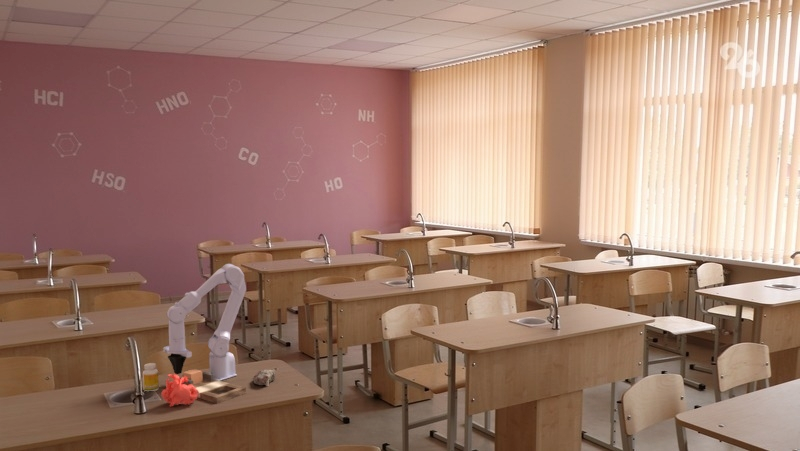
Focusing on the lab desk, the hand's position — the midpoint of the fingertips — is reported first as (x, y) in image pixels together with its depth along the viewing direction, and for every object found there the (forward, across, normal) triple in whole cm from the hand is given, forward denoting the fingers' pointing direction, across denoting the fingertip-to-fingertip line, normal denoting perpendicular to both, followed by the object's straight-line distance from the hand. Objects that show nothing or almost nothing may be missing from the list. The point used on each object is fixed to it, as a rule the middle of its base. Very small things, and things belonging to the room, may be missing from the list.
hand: (178, 373), depth 256 cm
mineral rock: (+4, +25, +20) cm, 32 cm away
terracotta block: (+2, +8, 0) cm, 9 cm away
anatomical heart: (+4, +20, -14) cm, 25 cm away
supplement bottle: (+4, -2, -10) cm, 11 cm away
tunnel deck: (+4, +16, 0) cm, 16 cm away
